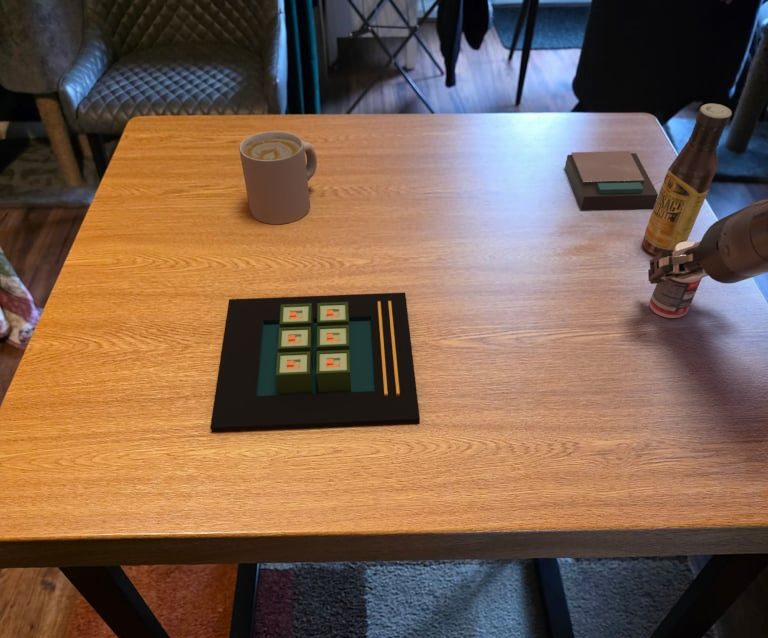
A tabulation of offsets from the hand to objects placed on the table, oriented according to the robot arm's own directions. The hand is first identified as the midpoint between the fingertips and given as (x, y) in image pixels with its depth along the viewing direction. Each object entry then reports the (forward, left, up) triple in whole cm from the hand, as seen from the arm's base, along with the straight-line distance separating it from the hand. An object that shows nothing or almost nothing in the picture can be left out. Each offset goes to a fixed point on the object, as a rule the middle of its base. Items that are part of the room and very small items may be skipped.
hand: (672, 273), depth 90 cm
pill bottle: (0, +2, -4) cm, 5 cm away
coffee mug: (+55, -28, -4) cm, 62 cm away
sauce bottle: (-4, -13, -4) cm, 14 cm away
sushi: (+49, +11, -4) cm, 50 cm away
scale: (+1, -31, -4) cm, 32 cm away
